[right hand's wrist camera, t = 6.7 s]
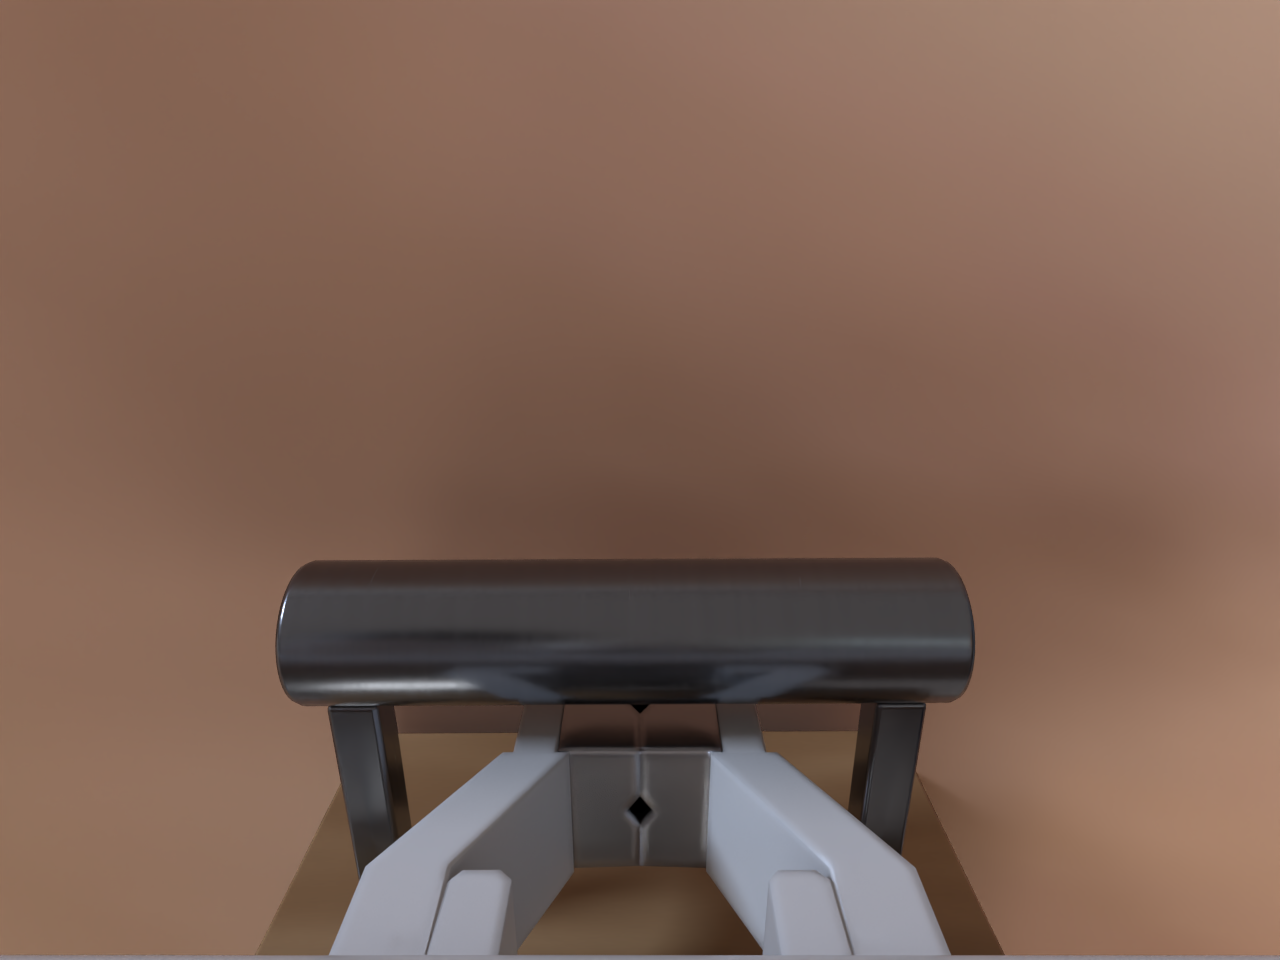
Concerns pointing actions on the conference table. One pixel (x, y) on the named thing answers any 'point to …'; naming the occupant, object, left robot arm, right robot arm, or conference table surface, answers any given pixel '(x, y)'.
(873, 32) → the conference table surface
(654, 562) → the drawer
